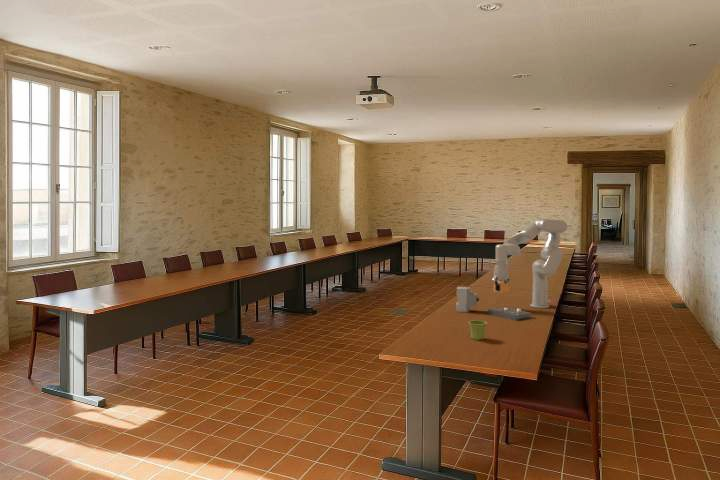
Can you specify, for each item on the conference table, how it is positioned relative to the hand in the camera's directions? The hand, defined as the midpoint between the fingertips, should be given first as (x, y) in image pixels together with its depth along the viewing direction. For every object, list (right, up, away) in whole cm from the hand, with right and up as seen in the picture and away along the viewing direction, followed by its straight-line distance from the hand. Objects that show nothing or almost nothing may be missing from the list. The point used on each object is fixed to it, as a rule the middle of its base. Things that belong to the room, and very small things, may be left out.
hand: (501, 289), depth 361 cm
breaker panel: (0, -14, -19) cm, 24 cm away
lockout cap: (0, -1, 0) cm, 1 cm away
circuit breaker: (-24, -13, -6) cm, 28 cm away
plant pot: (-32, -19, -74) cm, 83 cm away
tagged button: (-1, -14, -15) cm, 20 cm away
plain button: (+5, -13, -23) cm, 27 cm away
